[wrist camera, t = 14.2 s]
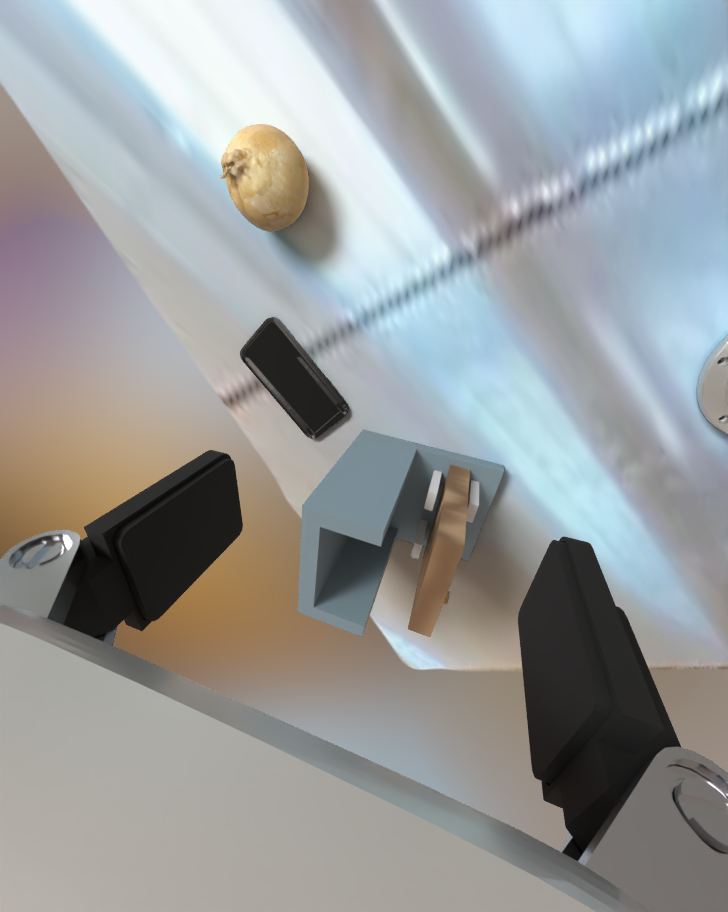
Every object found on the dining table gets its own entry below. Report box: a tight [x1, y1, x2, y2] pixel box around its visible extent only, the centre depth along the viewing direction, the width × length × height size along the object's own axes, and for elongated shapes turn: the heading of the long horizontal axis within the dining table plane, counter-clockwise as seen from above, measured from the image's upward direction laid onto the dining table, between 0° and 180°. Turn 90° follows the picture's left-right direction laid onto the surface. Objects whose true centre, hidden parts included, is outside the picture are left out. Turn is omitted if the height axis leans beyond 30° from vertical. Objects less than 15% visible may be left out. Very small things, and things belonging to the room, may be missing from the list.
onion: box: [220, 124, 309, 231], centre depth 31 cm, size 8×8×7 cm
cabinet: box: [298, 430, 504, 637], centre depth 39 cm, size 18×15×18 cm
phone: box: [240, 317, 349, 439], centre depth 44 cm, size 8×1×15 cm
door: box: [408, 465, 470, 637], centre depth 38 cm, size 3×13×14 cm, turn 172°
